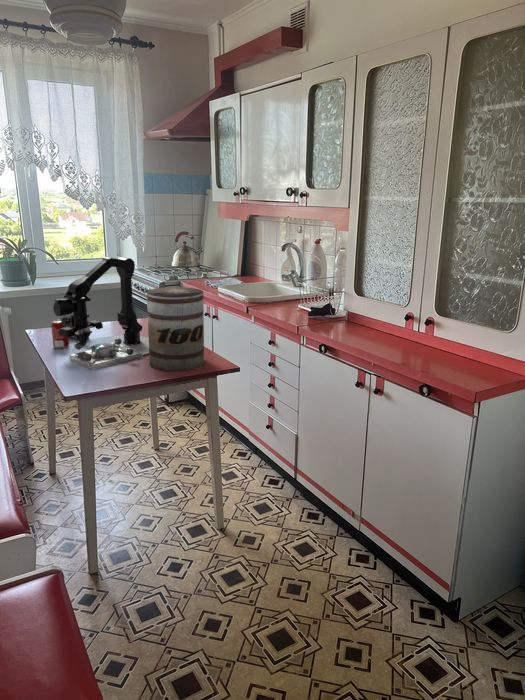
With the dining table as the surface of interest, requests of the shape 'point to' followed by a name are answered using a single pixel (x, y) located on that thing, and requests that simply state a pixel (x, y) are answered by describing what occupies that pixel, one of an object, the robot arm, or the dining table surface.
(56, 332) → the soda can
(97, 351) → the capstan
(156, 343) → the barrel
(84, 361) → the stand
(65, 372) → the dining table surface
